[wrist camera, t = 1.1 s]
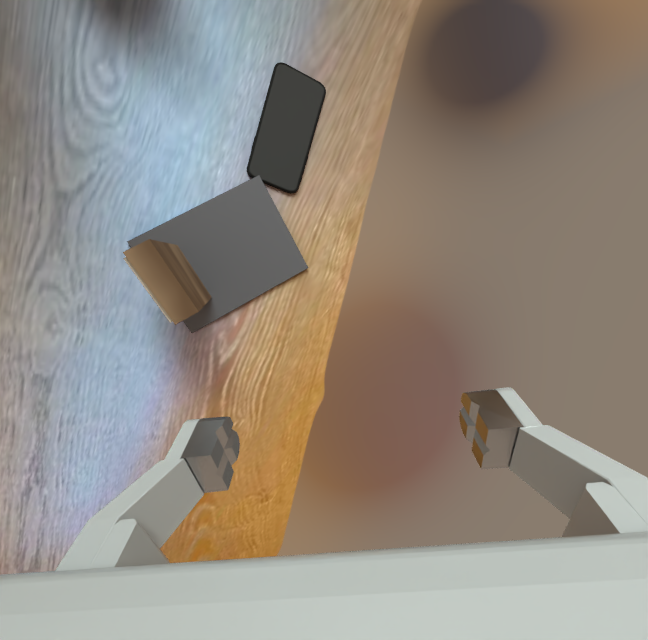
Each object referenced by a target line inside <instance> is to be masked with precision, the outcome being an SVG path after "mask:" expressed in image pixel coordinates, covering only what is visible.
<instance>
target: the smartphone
mask: <svg viewBox="0 0 648 640" xmlns="http://www.w3.org/2000/svg"><path fill="white" fill-rule="evenodd" d="M325 94H326V90H325V87H324V86H323V85H322V84H321V83H320V82H318V81H316V80H315V79H313V78H311V77H309V76H307V75H305V74H304V73H302V72H300V71H298V70H296V69H294V68H292V67H291V66H289V65H287V64H285V63H277V64H276V65H275V67H274V71H273V74H272V78H271V81H270V85H269V89H268V92H267V96H266V100H265V103H264V107H263V111H262V114H261V118H260V122H259V125H258V129H257V133H256V136H255V138H254V142H253V146H252V151H251V155H250V158H249V162H248V166H247V172H248V174H249V176H250V177H252V178H254V177H256V176H258V175H259V176H260V178H261V179H262V181H263V183H266V184H268V185H270V186H273V187H275V188H278V189H280V190H283V191H285V192H287V193H295V192H296V191H297V190H298V188H299V184H300V182H301V179H302V178H301V177H302V175H303V172H304V169H305V165H306V162H307V158H308V153H309V150H310V146H311V143H312V139H313V136H314V132H315V129H316V126H317V122H318V119H319V115H320V112H321V108H322V105H323V101H324V98H325Z"/></svg>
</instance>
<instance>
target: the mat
mask: <svg viewBox="0 0 648 640" xmlns="http://www.w3.org/2000/svg"><path fill="white" fill-rule="evenodd" d="M148 239H151V240H156V241H161V242H165V243H170V244H175V245H178V247H179V248H180V250H181V251H182V253H183V254H184V256H185V257H186V259H187V260H188V262H189V263H190V265H191V267H192V268H193V270H194V271H195V273H196V274H197V276H198V277H199V279H200V280H201V282H202V283H203V285H204V286H205V288H206V289H207V291H208V292H209V294H210V295H211V297H212V298H211V299H210V300H209V301H208V302H207V303H206V304H205V305H204V307H203V308H202V309H201V310H200V311H199V312H198V313H196V314H194V315H192V316H190V317H189V318H187V319H185V320H183V321H184V323H185V324H186V325H187V327H188V328H189V330H190V331H191V333H193V332H195V331H197V330H198V329H200V328H202V327H204V326H206V325H207V324H209V323H211V322H213V321H214V320H216V319H218V318H220V317H222V316H223V315H225V314H227V313H229V312H230V311H232V310H234V309H236V308H238V307H239V306H241V305H243V304H245V303H246V302H248V301H250V300H252V299H254V298H255V297H257V296H259V295H261V294H262V293H264V292H266V291H268V290H270V289H271V288H273V287H275V286H277V285H278V284H280V283H282V282H284V281H286V280H287V279H289V278H291V277H293V276H294V275H296V274H298V273H300V272H302V271H303V270H305V269H307V268H308V267H307V265H306V263H305V261H304V259H303V257H302V255H301V253H300V251H299V250H298V248H297V246H296V244H295V242H294V240H293V238H292V236H291V234H290V232H289V231H288V229H287V227H286V225H285V223H284V221H283V219H282V217H281V215H280V214H279V212H278V210H277V208H276V206H275V204H274V202H273V200H272V198H271V197H270V195H269V193H268V191H267V189H266V187H265V185H264V183H263V181H262V179H261V178H260V176H259V175H258V176H256V177H254V178H252V179H250V180H248V181H246V182H244V183H243V184H241V185H239V186H237V187H235V188H233V189H231V190H229V191H227V192H225V193H223V194H221V195H219V196H217V197H215V198H213V199H211V200H209V201H207V202H205V203H203V204H201V205H199V206H197V207H195V208H193V209H191V210H189V211H187V212H185V213H183V214H181V215H179V216H177V217H175V218H173V219H171V220H169V221H167V222H165V223H163V224H161V225H159V226H157V227H155V228H153V229H152V230H150V231H148V232H146V233H144V234H142V235H140V236H138V237H136V238H134V239H132V240H130V241H128V244H129V245H130V246H131V248H132V247H134V246H136V245H138V244H140V243H142V242H144V241H146V240H148Z"/></svg>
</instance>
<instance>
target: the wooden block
mask: <svg viewBox="0 0 648 640" xmlns="http://www.w3.org/2000/svg"><path fill="white" fill-rule="evenodd" d="M123 253H124V254H125V256H126V257H125V258H124V260H125V261H126V263H127V264H128V265H129V267H130V268H131V269H132V271H133V272H134V274H135V275H136V276H137V278H138V279H139V280H140V282H141V283H142V285H143V286H144V287H145V289H146V290H147V291H148V293H149V294H150V296H151V297H152V298H153V300H154V301H155V303H156V304H157V305H158V307H159V308H160V309H161V311H162V312H163V314H164V315H165V316H166V318H167V319H168V320H169V322H170V323H171V322H172V321H173V322H174V324H175V325H176V324H178V323H179V322H181V321H183V320H185V319H187V318H189V317H190V316H192V315H194V314H196V313H198V312H199V311H200V310H201V309H202V308H203V307H204V305H205V304H206V303H207V302H208V301H209V300H210V299H211V298H212V297H211V295H210V294H209V292H208V291H207V289H206V288H205V286H204V285H203V283H202V282H201V280H200V279H199V277H198V276H197V274H196V273H195V271H194V270H193V268H192V267H191V265H190V263H189V262H188V260H187V259H186V257H185V256H184V254H183V253H182V251H181V250H180V248H179V247H178V245H175V244H170V243H165V242H161V241H156V240H151V239H148V240H146V241H144V242H142V243H140V244H138V245H136V246H134V247H132V248H130V249H129V250H127V251H125V252H123Z"/></svg>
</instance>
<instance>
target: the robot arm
mask: <svg viewBox="0 0 648 640" xmlns="http://www.w3.org/2000/svg"><path fill="white" fill-rule="evenodd" d="M461 402H462V404H463V406H464V407H463V408H462V409H461V410H460V416H459V419H460V425H461V429H462V431H463V434H464V436H465V438H466V439H467V440H468V441H470V442H471V443H473V447H472V452H473V454H474V456H475V458H476V460H477V462H478V464H479V466H480V468H481V469H490V468H508V467H509V469H510V470H511V471H513V473H515V474H516V475H517V476H518V477H520V478H521V479H522V480H523V481H524V482H526V483H527V484H528V485H529V486H530V487H532V488H533V489H534V490H535V491H537V492H538V493H539V494H540V495H541V496H543V497H544V498H545V499H546V500H548V501H549V502H550V503H551V504H552V505H554V506H555V507H556V508H557V509H558V510H560V511H561V512H562V513H563V514H565V515H566V516H567V517H568V518H569V519H570V520H569V522H568V525H567V526H566V529H565V531H564V533H563V535H562V537H558V538H543V539H529V540H514V541H499V542H484V543H469V544H453V545H438V546H425V547H424V546H423V547H408V548H394V549H378V550H362V551H348V552H335V553H334V552H333V553H318V554H303V555H289V556H273V557H258V558H243V559H228V560H214V561H199V562H184V563H169V560H168V558H167V557H166V556H165V555H164V554H163V552H162V551H161V550H160V548H161V547H162V546H163V544H164V543H165V542H166V541H167V539H168V538H169V537H170V536H171V534H172V533H173V532H174V531H175V530H176V528H177V527H178V526H179V525H180V523H181V522H182V521H183V520H184V518H185V517H186V516H187V515H188V513H189V512H190V511H191V510H192V509H193V507H194V506H195V505H196V504H197V502H198V501H199V500H200V499H201V497H202V496H203V495H204V493H207V492H216V491H224V490H228V489H229V486H230V482H231V479H232V475H233V472H234V471H233V469H232V467H231V465H232V464H233V463H234V462H235V461H236V460H237V458H238V454H239V445H240V443H239V437H238V434H237V432H235V431H234V430H232V426H233V422H232V420H231V418H230V417H216V418H203V419H193V420H187V421H186V422H185V423H184V424H183V426H182V428H181V429H180V431H179V433H178V435H177V437H176V439H175V441H174V443H173V444H172V446H171V448H170V450H169V452H168V454H167V456H166V458H165V459H164V460H162V461H159V462H158V463H157V464H155V465H154V466H153V467H152V468H151V469H149V470H148V471H147V472H146V473H145V474H143V475H142V476H141V477H140V478H139V479H137V480H136V481H135V482H134V483H133V484H131V485H130V486H129V487H128V488H127V489H125V490H124V491H123V492H122V493H121V494H119V495H118V496H117V497H116V498H115V499H113V500H112V501H111V502H110V503H109V504H107V505H106V506H105V507H104V508H103V509H101V510H100V511H99V512H98V513H97V514H95V515H94V516H93V517H92V518H91V519H89V520H88V521H87V523H86V524H85V526H84V527H83V529H82V531H81V532H80V534H79V535H78V537H77V538H76V540H75V541H74V543H73V544H72V546H71V547H70V549H69V550H68V552H67V553H66V555H65V557H64V558H63V560H62V561H61V563H60V564H59V566H58V567H57V569H56V570H55V571H49V572H33V573H18V574H3V575H0V640H648V478H647V477H645V476H643V475H641V474H639V473H637V472H635V471H634V470H632V469H630V468H628V467H626V466H624V465H622V464H620V463H619V462H617V461H615V460H613V459H611V458H609V457H607V456H605V455H604V454H602V453H600V452H598V451H596V450H594V449H592V448H590V447H588V446H586V445H584V444H583V443H581V442H579V441H577V440H575V439H573V438H571V437H569V436H567V435H566V434H564V433H562V432H560V431H558V430H556V429H554V428H553V427H551V426H549V425H542V424H541V422H540V421H539V420H538V419H537V418H536V416H535V415H534V414H533V413H532V411H531V410H530V409H529V408H528V407H527V406H526V404H525V403H524V402H523V401H522V399H521V398H520V397H519V396H518V395H517V393H516V392H515V391H514V390H513V389H512V388H501V389H494V390H482V391H474V392H465V393H463V394H462V397H461Z"/></svg>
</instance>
